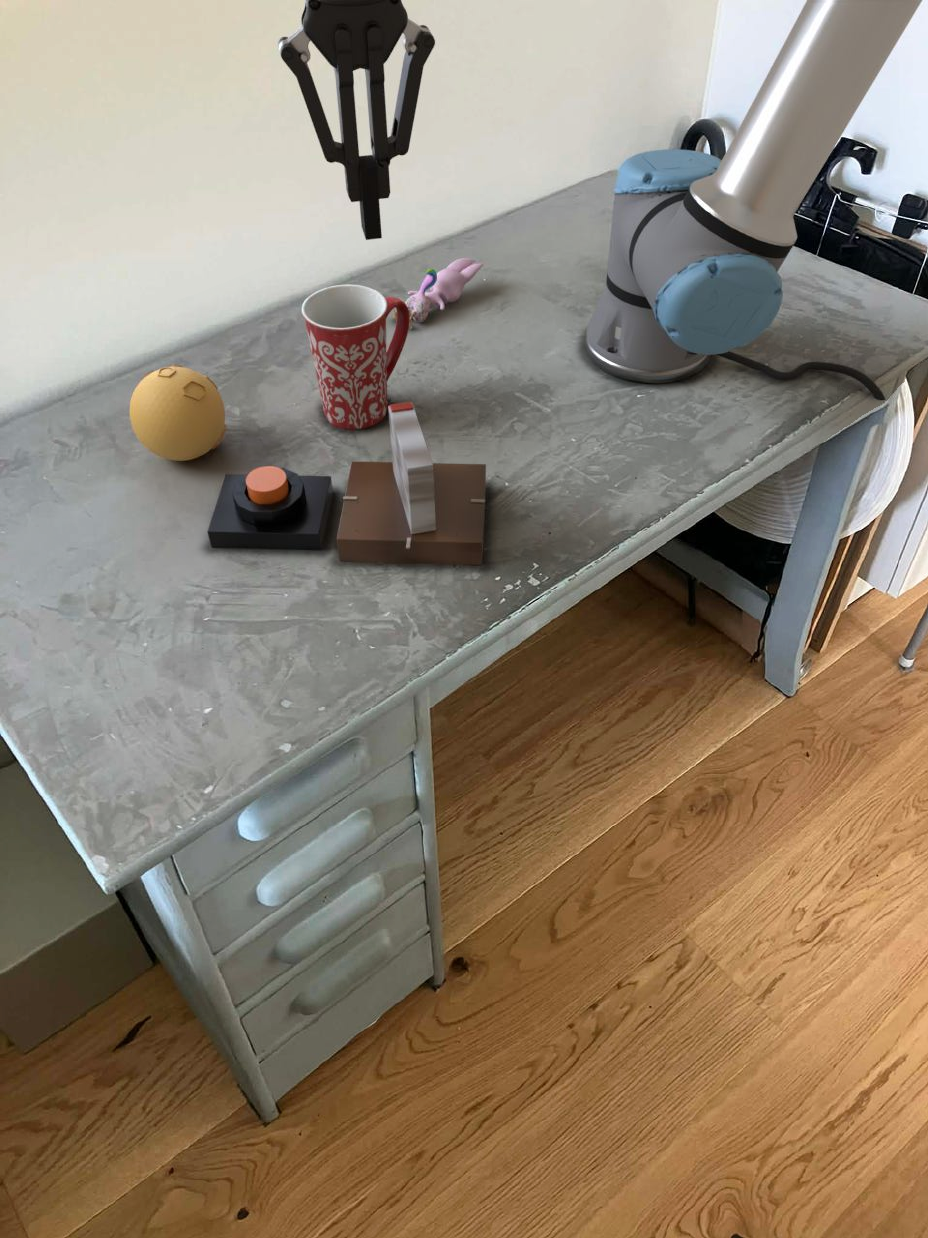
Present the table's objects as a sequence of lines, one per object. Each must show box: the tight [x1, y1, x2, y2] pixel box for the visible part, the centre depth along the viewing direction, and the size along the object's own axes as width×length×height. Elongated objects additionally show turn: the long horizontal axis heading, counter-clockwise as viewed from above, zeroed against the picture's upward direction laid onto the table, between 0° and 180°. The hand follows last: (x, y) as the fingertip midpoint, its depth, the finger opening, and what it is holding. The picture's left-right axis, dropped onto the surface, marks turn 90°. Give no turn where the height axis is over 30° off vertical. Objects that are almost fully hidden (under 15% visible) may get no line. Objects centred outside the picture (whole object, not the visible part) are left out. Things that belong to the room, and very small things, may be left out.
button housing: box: [207, 467, 334, 551], centre depth 103 cm, size 11×9×4 cm
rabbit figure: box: [392, 257, 485, 330], centre depth 131 cm, size 6×6×15 cm
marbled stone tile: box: [387, 401, 436, 534], centre depth 99 cm, size 10×2×8 cm, turn 13°
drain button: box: [246, 465, 289, 504], centre depth 101 cm, size 4×4×2 cm
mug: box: [300, 284, 410, 431], centre depth 113 cm, size 13×9×14 cm
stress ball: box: [129, 365, 227, 462], centre depth 109 cm, size 10×10×10 cm
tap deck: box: [336, 461, 487, 566], centre depth 103 cm, size 14×14×3 cm
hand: (371, 231), depth 95 cm, fingers closed
